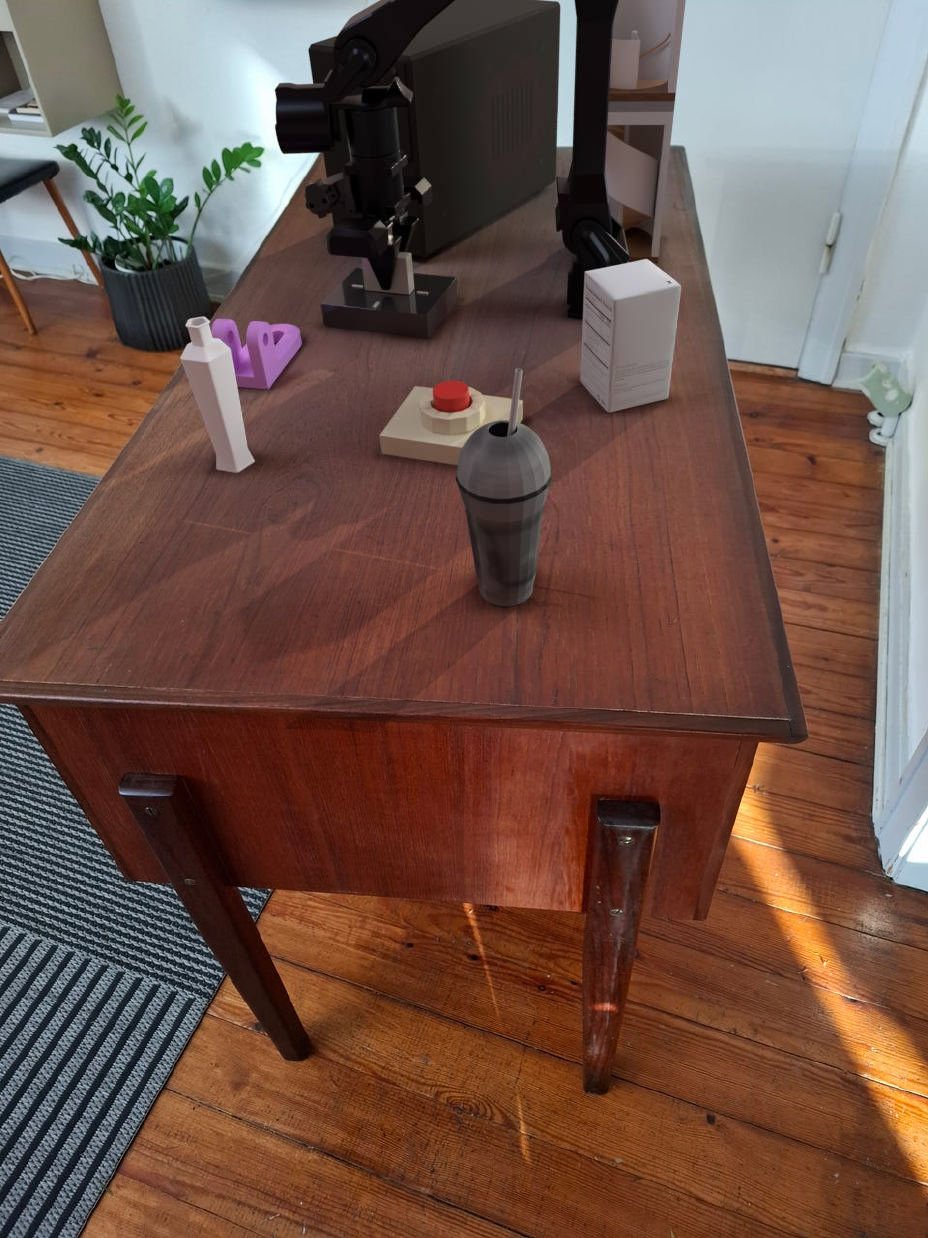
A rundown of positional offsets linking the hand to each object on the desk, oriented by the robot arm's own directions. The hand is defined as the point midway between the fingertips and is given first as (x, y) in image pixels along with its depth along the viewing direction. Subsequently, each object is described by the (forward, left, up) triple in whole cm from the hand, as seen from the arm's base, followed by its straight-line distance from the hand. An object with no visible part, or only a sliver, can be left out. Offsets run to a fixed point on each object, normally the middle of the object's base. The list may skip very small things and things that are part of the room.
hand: (389, 285), depth 111 cm
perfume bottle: (+3, +35, -4) cm, 35 cm away
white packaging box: (-32, +12, -4) cm, 34 cm away
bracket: (+10, +15, -4) cm, 18 cm away
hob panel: (0, 0, -4) cm, 4 cm away
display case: (-24, -24, -4) cm, 34 cm away
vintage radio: (+5, -35, -4) cm, 36 cm away
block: (-17, +25, -4) cm, 30 cm away
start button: (-17, +25, 0) cm, 30 cm away
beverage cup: (-29, +46, -4) cm, 54 cm away
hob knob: (0, 0, 0) cm, 0 cm away
